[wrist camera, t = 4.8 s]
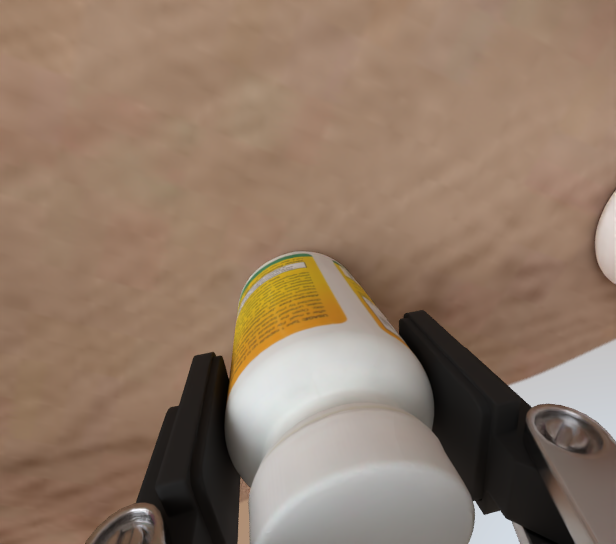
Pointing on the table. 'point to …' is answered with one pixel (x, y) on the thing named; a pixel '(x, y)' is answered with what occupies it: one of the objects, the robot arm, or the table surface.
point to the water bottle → (607, 240)
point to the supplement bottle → (334, 417)
